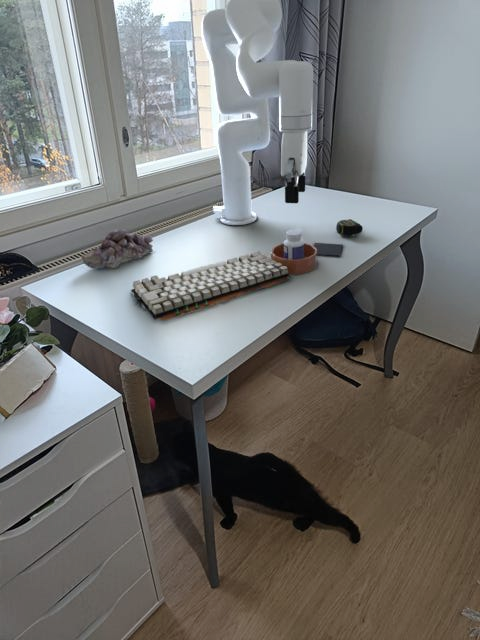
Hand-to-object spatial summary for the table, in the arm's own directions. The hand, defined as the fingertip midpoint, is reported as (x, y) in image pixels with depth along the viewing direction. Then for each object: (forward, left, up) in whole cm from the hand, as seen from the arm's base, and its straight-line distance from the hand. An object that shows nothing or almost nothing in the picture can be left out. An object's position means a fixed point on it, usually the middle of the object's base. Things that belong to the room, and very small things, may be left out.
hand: (295, 197), depth 112 cm
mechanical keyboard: (-18, -16, -19) cm, 31 cm away
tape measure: (+12, +25, -19) cm, 33 cm away
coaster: (+7, +11, -18) cm, 22 cm away
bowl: (0, 0, -18) cm, 18 cm away
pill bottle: (0, 0, -18) cm, 18 cm away
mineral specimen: (-50, -6, -19) cm, 53 cm away
